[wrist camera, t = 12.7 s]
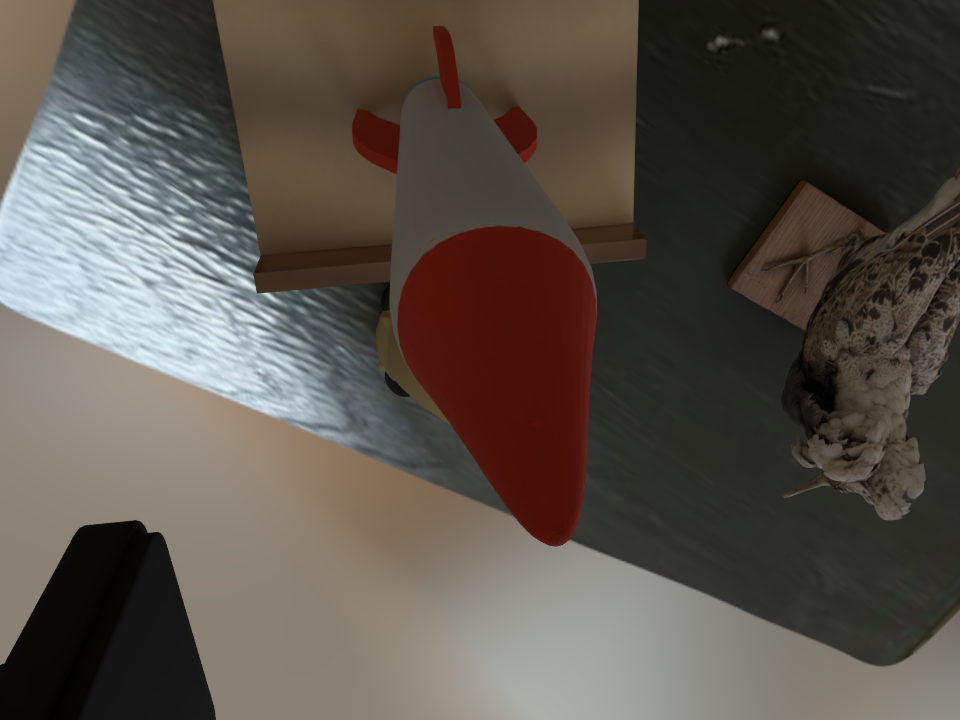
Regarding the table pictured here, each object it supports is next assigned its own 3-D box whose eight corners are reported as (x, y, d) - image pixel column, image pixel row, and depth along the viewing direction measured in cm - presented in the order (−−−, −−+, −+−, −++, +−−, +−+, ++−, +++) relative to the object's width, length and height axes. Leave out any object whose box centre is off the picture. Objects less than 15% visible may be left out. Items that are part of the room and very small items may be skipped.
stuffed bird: (685, 389, 57) (794, 553, 41) (787, 89, 48) (973, 156, 33) (818, 406, 58) (970, 571, 43) (939, 120, 50) (1183, 198, 34)
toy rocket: (351, 113, 37) (219, 560, 10) (438, 17, 35) (553, 243, 9) (441, 198, 39) (529, 757, 12) (527, 111, 37) (841, 528, 11)
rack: (243, -51, 42) (189, -50, 31) (589, -74, 43) (657, -81, 32) (287, 215, 49) (256, 293, 38) (589, 189, 50) (646, 258, 39)
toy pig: (462, 235, 54) (331, 264, 47) (615, 284, 47) (490, 328, 39) (453, 371, 58) (332, 418, 51) (593, 436, 51) (475, 502, 43)
